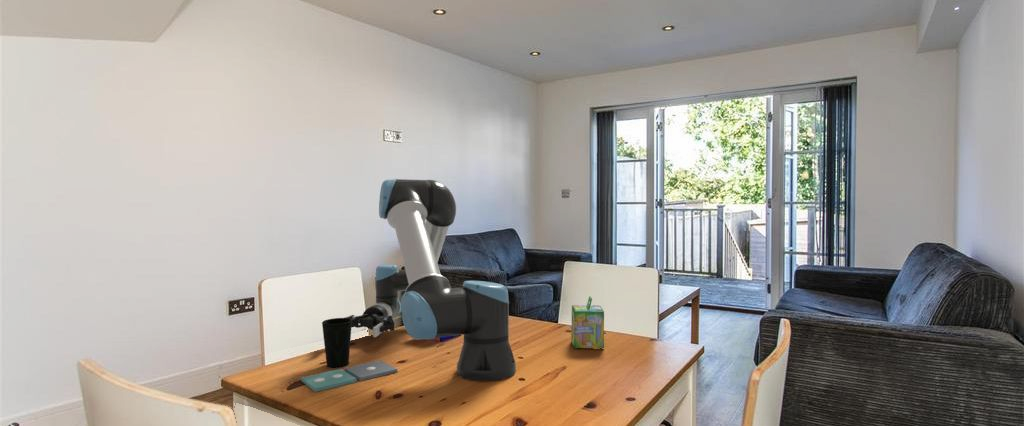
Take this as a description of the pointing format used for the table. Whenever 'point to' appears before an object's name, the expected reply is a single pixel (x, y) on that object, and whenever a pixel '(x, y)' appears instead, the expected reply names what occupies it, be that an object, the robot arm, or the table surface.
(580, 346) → the green printed box
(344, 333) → the cup
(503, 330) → the robot arm
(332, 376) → the tile two
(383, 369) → the tile one
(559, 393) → the table surface
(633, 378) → the table surface
